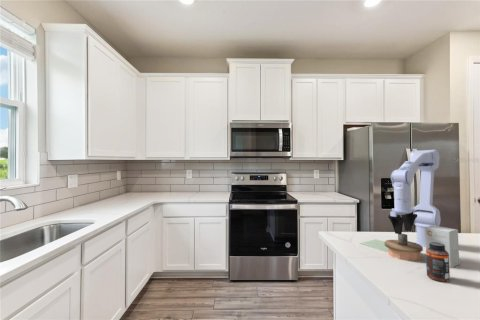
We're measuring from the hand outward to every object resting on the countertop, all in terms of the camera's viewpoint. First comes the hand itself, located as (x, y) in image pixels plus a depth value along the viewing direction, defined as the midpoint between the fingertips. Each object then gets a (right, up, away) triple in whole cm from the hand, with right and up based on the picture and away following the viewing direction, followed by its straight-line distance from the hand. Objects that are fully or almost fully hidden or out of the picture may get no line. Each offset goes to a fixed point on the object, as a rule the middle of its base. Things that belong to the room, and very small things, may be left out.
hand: (403, 232), depth 100 cm
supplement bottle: (-2, -10, -20) cm, 22 cm away
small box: (+10, -10, -7) cm, 16 cm away
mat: (-2, -10, +13) cm, 17 cm away
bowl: (0, -10, 0) cm, 10 cm away
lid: (0, -7, 0) cm, 7 cm away
